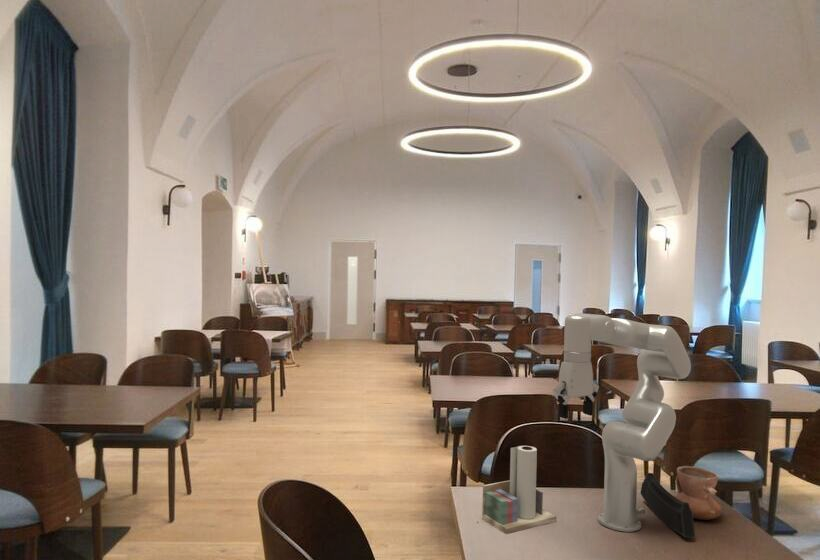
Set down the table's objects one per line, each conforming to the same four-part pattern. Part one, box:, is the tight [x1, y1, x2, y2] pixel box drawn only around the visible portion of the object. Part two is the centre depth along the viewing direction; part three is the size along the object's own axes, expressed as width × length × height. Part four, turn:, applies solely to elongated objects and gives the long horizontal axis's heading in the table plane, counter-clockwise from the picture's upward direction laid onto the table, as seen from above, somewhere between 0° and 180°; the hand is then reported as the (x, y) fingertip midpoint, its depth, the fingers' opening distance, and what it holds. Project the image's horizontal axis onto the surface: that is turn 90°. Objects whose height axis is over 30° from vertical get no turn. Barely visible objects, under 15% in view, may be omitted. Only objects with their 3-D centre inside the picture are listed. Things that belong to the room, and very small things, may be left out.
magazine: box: [640, 472, 696, 539], centre depth 178 cm, size 17×3×30 cm
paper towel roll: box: [509, 445, 538, 519], centre depth 177 cm, size 7×6×21 cm
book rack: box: [481, 479, 557, 535], centre depth 176 cm, size 12×20×10 cm, turn 119°
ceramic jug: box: [673, 465, 722, 521], centre depth 184 cm, size 18×14×14 cm
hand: (575, 416), depth 163 cm, fingers open, 9 cm apart
